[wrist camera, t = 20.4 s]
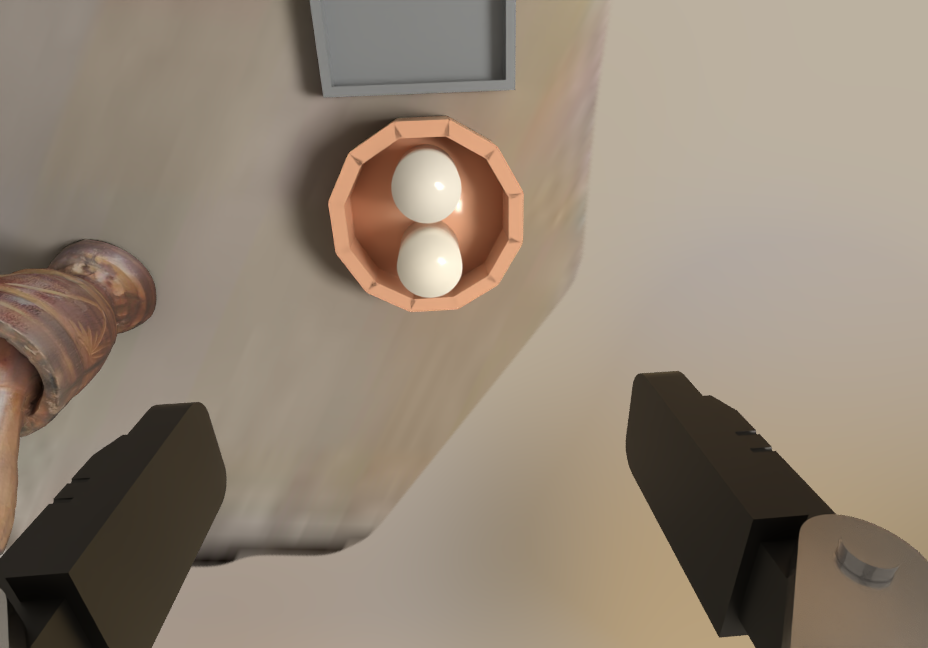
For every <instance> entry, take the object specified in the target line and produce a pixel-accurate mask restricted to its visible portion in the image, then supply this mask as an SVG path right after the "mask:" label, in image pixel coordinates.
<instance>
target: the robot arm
mask: <svg viewBox="0 0 928 648" xmlns="http://www.w3.org/2000/svg"><path fill="white" fill-rule="evenodd" d="M626 453H627V459H628V464H629V467H630V469H631V472H632V474H633V476H634V478H635V480H636V481H637V484H638V486H639V487H640V489H641V491H642V493H643V495H644V497H645V499H646V501H647V502H648V504H649V506H650V508H651V510H652V512H653V514H654V516H655V518H656V519H657V521H658V523H659V525H660V527H661V529H662V531H663V533H664V534H665V536H666V538H667V540H668V542H669V544H670V546H671V548H672V550H673V551H674V553H675V555H676V557H677V559H678V561H679V563H680V565H681V566H682V568H683V570H684V572H685V574H686V576H687V578H688V580H689V582H690V583H691V585H692V587H693V589H694V591H695V593H696V595H697V597H698V599H699V600H700V602H701V604H702V606H703V608H704V610H705V612H706V613H707V615H708V617H709V619H710V621H711V623H712V625H713V627H714V629H715V631H716V632H717V634H718V636H719V637H729V636H741V635H748V636H749V637H750V639H751V641H752V642H753V644H754V646H755V648H928V561H927V560H926V559H925V558H924V557H923V556H922V555H921V554H920V553H919V552H918V551H917V550H916V549H914V548H913V547H912V546H911V545H910V544H908V543H907V542H906V541H904V540H903V539H901V538H900V537H898V536H897V535H895V534H893V533H891V532H889V531H888V530H886V529H884V528H882V527H879V526H877V525H875V524H872V523H870V522H867V521H864V520H861V519H858V518H854V517H850V516H844V515H836V514H835V513H834V512H833V511H832V509H830V507H829V506H828V505H827V504H826V503H825V502H824V501H823V500H822V499H821V498H820V497H819V496H818V495H817V494H816V493H815V492H814V491H813V490H812V489H811V487H810V486H809V485H808V484H807V483H806V482H805V481H804V480H803V479H802V478H801V477H800V476H799V475H798V474H797V473H796V472H795V471H794V470H793V469H792V468H791V467H790V466H789V464H788V463H787V462H786V461H785V460H784V459H783V458H782V457H781V456H780V455H779V454H778V453H777V452H776V451H772V448H771V446H770V445H769V444H768V443H767V441H766V440H765V439H764V438H763V437H762V436H761V435H760V434H758V435H757V434H756V430H755V429H754V428H753V427H752V426H751V425H750V424H749V423H748V422H747V421H746V420H745V419H744V418H743V417H742V415H740V413H739V412H738V411H737V410H735V409H733V408H731V407H730V406H728V405H726V404H724V403H723V402H721V401H720V400H718V399H716V398H714V397H713V396H710V395H709V396H702V394H701V393H700V392H699V391H698V390H697V389H696V388H695V387H694V386H693V384H692V383H691V382H690V381H689V380H688V379H687V378H686V377H685V375H684V374H682V373H681V372H679V371H670V372H655V373H642V374H638V375H637V376H636V377H635V379H634V382H633V387H632V396H631V403H630V411H629V419H628V427H627V434H626ZM225 491H226V469H225V465H224V462H223V459H222V456H221V452H220V449H219V446H218V443H217V439H216V436H215V433H214V430H213V426H212V423H211V420H210V417H209V414H208V411H207V409H206V407H205V406H204V405H203V404H202V403H200V402H193V403H178V404H163V405H155V406H153V407H151V408H150V409H149V410H148V411H147V412H146V413H145V415H144V416H143V417H142V418H141V419H140V420H139V422H138V423H137V424H136V425H135V426H134V428H133V429H132V430H131V431H130V432H129V433H128V435H122V436H120V437H119V438H117V439H116V440H115V441H113V442H112V443H110V444H109V445H107V446H106V447H104V448H103V449H101V450H100V451H99V452H97V453H96V454H94V455H93V456H92V457H91V458H90V459H89V460H88V461H87V462H86V463H85V465H84V466H83V467H82V468H81V469H80V470H79V471H78V472H77V473H76V475H75V476H74V477H73V478H72V482H71V483H70V484H67V485H66V486H65V487H64V488H63V489H62V490H61V491H60V492H59V493H58V495H57V496H56V497H55V498H54V503H53V504H49V505H48V506H47V507H46V508H45V509H44V510H43V511H42V512H41V513H40V515H39V516H38V517H37V518H36V519H35V520H34V521H33V522H32V523H31V524H30V526H29V527H28V528H27V529H26V530H25V531H24V532H23V533H22V534H21V536H20V537H19V538H18V539H17V540H16V541H15V542H14V543H13V544H12V546H11V547H10V548H9V549H8V550H7V551H6V552H5V553H4V554H3V556H2V557H1V558H0V648H152V646H153V644H154V642H155V639H156V638H157V636H158V633H159V632H160V629H161V627H162V625H163V623H164V621H165V619H166V617H167V615H168V613H169V611H170V609H171V607H172V605H173V603H174V601H175V599H176V597H177V595H178V593H179V590H180V588H181V586H182V584H183V582H184V580H185V578H186V576H187V574H188V572H189V570H190V568H191V566H192V564H193V562H194V560H195V558H196V556H197V554H198V552H199V550H200V547H201V545H202V543H203V541H204V539H205V537H206V535H207V533H208V531H209V529H210V527H211V525H212V523H213V521H214V519H215V517H216V515H217V513H218V511H219V509H220V507H221V504H222V502H223V499H224V496H225Z"/></svg>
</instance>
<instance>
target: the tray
mask: <svg viewBox="0 0 928 648" xmlns="http://www.w3.org/2000/svg"><path fill="white" fill-rule="evenodd" d="M310 7H311V14H312V21H313V28H314V35H315V42H316V49H317V56H318V63H319V70H320V77H321V84H322V91H323V97H348V96H373V95H398V94H423V93H448V92H472V91H497V90H515V41H516V0H310Z"/></svg>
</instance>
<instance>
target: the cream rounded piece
mask: <svg viewBox="0 0 928 648" xmlns="http://www.w3.org/2000/svg"><path fill="white" fill-rule="evenodd" d="M391 191H392V196H393V200H394V202H395V204H396V206H397V208H398V209H399V210H400V211H401V212H402V213H403V214H404V215H405V216H406V217H407V218H409V219H411V220H413V221H415V222H419V223H435V222H438V221H441V220H443V219H445V218H446V217H448V216H449V215H450V214H451V213H452V212H453V211H454V210H455V208H456V206H457V205H458V203H459V200H460V197H461V181H460V177H459V174H458V171H457V169H456V166H455V163H454V161H453V159H452V158H451V157H450V155H449V154H448V153H447V152H446V151H444V150H443V149H441V148H439V147H437V146H434V145H429V144H423V145H417V146H415V147H412V148H411V149H409V150H408V151H406V152H405V153H404V154H403V155H402V157H401V158H400V160H399V162H398V164H397V167H396V169H395V172H394V175H393V178H392V184H391Z"/></svg>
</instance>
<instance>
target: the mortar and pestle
mask: <svg viewBox="0 0 928 648" xmlns="http://www.w3.org/2000/svg"><path fill="white" fill-rule="evenodd" d="M155 305H156V289H155V284H154V281H153V279H152V277H151V275H150V273H149V271H148V270H147V269H146V268H145V267H144V265H143V264H142V263H141V262H140V261H139V260H138V259H136V258H135V257H134V256H132V255H131V254H129V253H128V252H126V251H125V250H123V249H121V248H118V247H116V246H114V245H111V244H108V243H105V242H101V241H95V240H89V239H84V240H82V241H79V242H77V243H74V244H71V245H69V246H67V247H65V248H64V249H63V250H62V251H61V252H60V253H59V254H58V255H57V256H56V257H55V258H54V260H53V261H52V262H51V263H50V265H49V266H48V268H46V269H22V270H19V271H16V272H13V273H11V274H5V275H0V555H1V554H3V552H4V550H5V548H6V545H7V542H8V540H9V537H10V534H11V530H12V526H13V522H14V516H15V508H16V501H17V487H18V468H17V460H18V452H19V441H20V437H23V436H27V435H29V434H31V433H33V432H35V431H37V430H39V429H41V428H42V427H44V426H46V425H47V424H48V423H49V422H50V421H52V420H53V419H54V418H55V417H56V415H57V414H58V413H59V412H60V411H61V410H62V409H63V408H64V407H65V406H66V405H67V404H68V402H69V401H70V400H71V399H72V398H73V397H74V396H76V395H77V394H78V393H79V392H80V391H81V390H82V389H83V388H84V387H85V386H86V385H87V384H88V383H89V382H90V381H91V380H92V379H93V378H94V376H95V375H96V374H97V373H98V372H99V371H100V369H101V367H102V366H103V364H104V363H105V361H106V359H107V357H108V355H109V353H110V351H111V349H112V347H113V345H114V343H115V341H116V336H117V334H118V333H123V332H125V331H128V330H131V329H133V328H135V327H137V326H139V325H141V324H142V323H144V322H145V321H146V320H147V319H149V318H150V317H151V315H152V314H153V312H154V309H155Z"/></svg>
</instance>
